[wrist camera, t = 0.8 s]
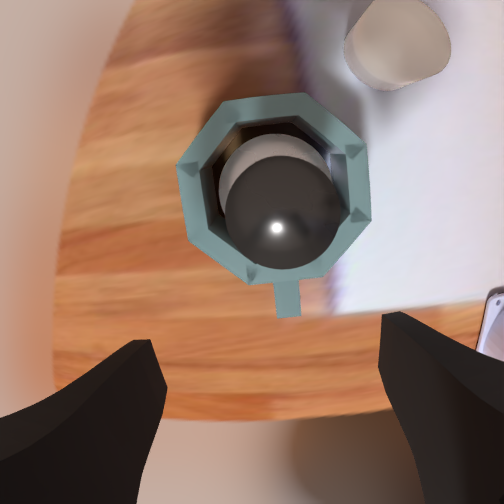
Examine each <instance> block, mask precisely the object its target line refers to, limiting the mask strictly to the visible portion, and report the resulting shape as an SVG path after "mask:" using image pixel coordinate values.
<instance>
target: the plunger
mask: <svg viewBox="0 0 504 504" xmlns="http://www.w3.org/2000/svg"><path fill="white" fill-rule="evenodd" d="M219 198H220V203H221V206H222V209H223V212H224V214H225V221H226V226H227V230H228V233H229V235H230V237H231V239H232V241H233V243H234V244H235V246H236V247H237V248H238V250H239V251H240V252H241V253H242V254H243V255H244V256H246V257H247V258H248V259H250V260H251V261H253V262H254V263H257V264H259V265H261V266H264V267H267V268H271V269H280V270H285V269H293V268H298V267H301V266H304V265H306V264H309V263H311V262H312V261H314V260H315V259H317V258H318V257H319V256H321V255H322V254H323V253H324V252H325V251H326V250H327V249H328V247H329V246H330V245H331V243H332V241H333V240H334V238H335V236H336V233H337V231H338V227H339V224H340V216H341V209H340V201H339V198H338V194H337V192H336V189H335V187H334V185H333V184H332V178H331V174H330V171H329V169H328V166H327V164H326V162H325V161H324V159H323V158H322V156H321V155H320V154H319V153H318V152H317V151H316V150H315V149H314V148H313V147H312V146H311V145H309V144H308V143H306V142H305V141H303V140H301V139H299V138H296V137H293V136H290V135H285V134H267V135H261V136H258V137H255V138H253V139H251V140H249V141H247V142H245V143H244V144H242V145H241V146H240V147H239V148H237V149H236V150H235V151H234V152H233V153H232V155H231V156H230V157H229V159H228V160H227V162H226V164H225V166H224V168H223V170H222V173H221V177H220V182H219Z"/></svg>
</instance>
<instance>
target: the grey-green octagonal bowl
mask: <svg viewBox="0 0 504 504" xmlns="http://www.w3.org/2000/svg"><path fill="white" fill-rule="evenodd" d="M289 122H292V123H293V124H294V125H296V126H297V127H298V128H299V129H301V130H302V131H303V132H305V133H306V134H307V135H308V136H309V137H311V138H312V139H313V140H314V141H316V142H317V143H318V144H319V145H320V146H322V147H323V148H324V149H325V150H326V151H328V152H329V153H330V159H331V169H332V180H333V185H334V187H335V189H336V192H337V194H338V198H339V201H340V209H341V216H340V224H339V227H338V231H337V233H336V236H335V238H334V240H333V241H332V243H331V245H330V246H329V247H328V249H327V250H326V251H325V252H324V253H323V254H322V255H321V256H319V257H318V258H317V259H315V260H314V261H312V262H311V263H309V264H306V265H304V266H301V267H298V268H293V269H285V270H280V269H271V268H267V267H264V266H261V265H259V264H257V263H254V262H253V261H251V260H250V259H248V258H247V257H246V256H244V255H243V254H242V253H241V252H240V251H239V250H238V248H237V247H236V246H235V244H234V243H233V241H232V239H231V237H230V235H229V233H228V230H227V226H226V221H225V218H223V217H222V216H221V215H219V212H218V205H217V199H216V192H215V185H214V178H213V171H212V166H213V164H214V163H215V162H216V160H217V159H218V158H219V157H220V155H221V154H222V153H223V151H224V150H225V149H226V147H227V146H228V145H229V144H230V142H231V141H232V140H233V138H234V137H235V136H236V135H237V133H238V132H239V131H240V129H241V128H244V127H252V126H260V125H269V124H278V123H289ZM176 170H177V176H178V183H179V189H180V195H181V201H182V207H183V213H184V219H185V225H186V230H187V236H188V241H189V242H191V243H192V244H193V245H195V246H196V247H197V248H199V249H200V250H202V251H203V252H204V253H206V254H207V255H208V256H210V257H211V258H212V259H214V260H215V261H216V262H218V263H219V264H221V265H222V266H223V267H225V268H226V269H227V270H229V271H230V272H232V273H233V274H234V275H236V276H237V277H238V278H240V279H241V280H243V281H244V282H245V283H247V284H248V285H255V284H265V283H273V285H274V294H275V303H276V312H277V318H287V317H296V316H301V305H300V291H299V280H301V279H310V278H319V277H323V276H324V275H325V274H326V273H327V272H328V271H329V269H330V268H331V267H332V266H333V265H334V264H335V263H336V262H337V260H338V259H339V258H340V257H341V256H342V255H343V254H344V252H345V251H346V250H347V249H348V248H349V247H350V245H351V244H352V243H353V242H354V241H355V240H356V238H357V237H358V236H359V235H360V234H361V233H362V231H363V230H364V229H365V228H366V227H367V225H368V224H369V223H370V222H371V221H372V220H371V198H370V181H369V168H368V156H367V146H366V143H365V142H364V141H362V140H361V139H360V138H359V137H358V136H357V135H356V134H355V133H354V132H352V131H351V130H350V129H349V128H348V127H347V126H346V125H344V124H343V123H342V122H341V121H340V120H339V119H337V118H336V117H335V116H334V115H333V114H331V113H330V112H329V111H328V110H327V109H325V108H324V107H323V106H322V105H320V104H319V103H318V102H317V101H315V100H314V99H313V98H312V97H310V96H309V95H308V94H306V93H305V92H302V93H289V94H278V95H268V96H259V97H251V98H243V99H236V100H229V101H223V103H222V104H221V105H220V106H219V108H218V109H217V110H216V112H215V113H214V114H213V115H212V117H211V118H210V119H209V121H208V122H207V123H206V124H205V126H204V127H203V128H202V130H201V131H200V132H199V134H198V135H197V136H196V138H195V139H194V141H193V142H192V143H191V145H190V146H189V147H188V149H187V150H186V151H185V153H184V154H183V156H182V157H181V158H180V160H179V161H178V163H177V164H176Z"/></svg>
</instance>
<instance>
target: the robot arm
mask: <svg viewBox="0 0 504 504" xmlns="http://www.w3.org/2000/svg"><path fill="white" fill-rule="evenodd" d="M496 302H497V303H496ZM378 368H379V372H380V375H381V378H382V382H383V385H384V388H385V391H386V394H387V396H388V398H389V401H390V403H391V405H392V407H393V409H394V411H395V413H396V416H397V418H398V420H399V422H400V425H401V426H402V429H403V431H404V433H405V435H406V438H407V440H408V442H409V445H410V447H411V450H412V453H413V455H414V459H415V462H416V466H417V469H418V473H419V477H420V481H421V485H422V490H423V494H424V499H425V504H504V293H501V294H498V295H494V296H491V297H490V298H489V299H488V301H487V305H486V310H485V315H484V320H483V324H482V329H481V333H480V337H479V341H478V345H477V349H476V351H475V350H473V349H471V348H469V347H467V346H465V345H463V344H461V343H459V342H457V341H455V340H453V339H451V338H449V337H447V336H445V335H443V334H441V333H440V332H438V331H436V330H434V329H432V328H431V327H429V326H427V325H425V324H423V323H422V322H420V321H418V320H416V319H414V318H413V317H411V316H409V315H407V314H405V313H403V312H400V311H399V312H393V313H388V314H382V322H381V338H380V351H379V362H378ZM166 393H167V385H166V382H165V380H164V377H163V374H162V372H161V369H160V366H159V363H158V361H157V358H156V355H155V352H154V349H153V346H152V343H151V340H150V339H147V340H133V341H131V342H129V343H127V344H126V345H124V346H123V347H121V348H120V349H119V350H117V351H116V352H114V353H113V354H112V355H110V356H109V357H107V358H106V359H105V360H103V361H102V362H101V363H99V364H98V365H96V366H95V367H94V368H92V369H91V370H90V371H88V372H87V373H85V374H84V375H82V376H81V377H79V378H78V379H76V380H75V381H73V382H72V383H70V384H69V385H67V386H66V387H64V388H63V389H61V390H60V391H58V392H56V393H55V394H53V395H51V396H49V397H47V398H45V399H44V400H42V401H40V402H38V403H36V404H34V405H32V406H29V407H27V408H24V409H22V410H20V411H17V412H15V413H12V414H10V415H7V416H5V417H2V418H0V504H136V503H137V497H138V492H139V487H140V481H141V477H142V473H143V469H144V466H145V463H146V460H147V457H148V454H149V451H150V448H151V446H152V443H153V440H154V437H155V434H156V432H157V429H158V426H159V423H160V420H161V417H162V414H163V409H164V404H165V399H166Z"/></svg>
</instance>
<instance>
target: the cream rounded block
mask: <svg viewBox="0 0 504 504" xmlns="http://www.w3.org/2000/svg"><path fill="white" fill-rule="evenodd" d="M450 55H451V43H450V38H449V35H448V32H447V30H446V28H445V26H444V24H443V22H442V21H441V20H440V18H439V17H438V16H437V15H436V13H435V12H434V11H433V10H432V9H431V8H429V7H428V6H427V5H426V4H424V3H423V2H421V1H419V0H374V1H373V2H372V3H371V4H370V6H369V7H368V8H367V10H366V11H365V12H364V13H363V15H362V16H361V17H360V19H359V20H358V21H357V22H356V24H355V25H354V26H353V28H352V29H351V30H350V32H349V33H348V34H347V36H346V38H345V41H344V56H345V60H346V63H347V65H348V67H349V68H350V70H351V71H352V73H353V74H354V75H355V76H356V77H357V78H358V79H359V80H360V81H361V82H363V83H364V84H366V85H368V86H370V87H372V88H374V89H377V90H382V91H392V90H396V89H399V88H402V87H404V86H407V85H409V84H412V83H414V82H417V81H420V80H422V79H425V78H427V77H430V76H433V75H435V74H437V73H439V72H441V71H442V70H443V69H444V68H445V67H446V65H447V64H448V61H449V59H450Z"/></svg>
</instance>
